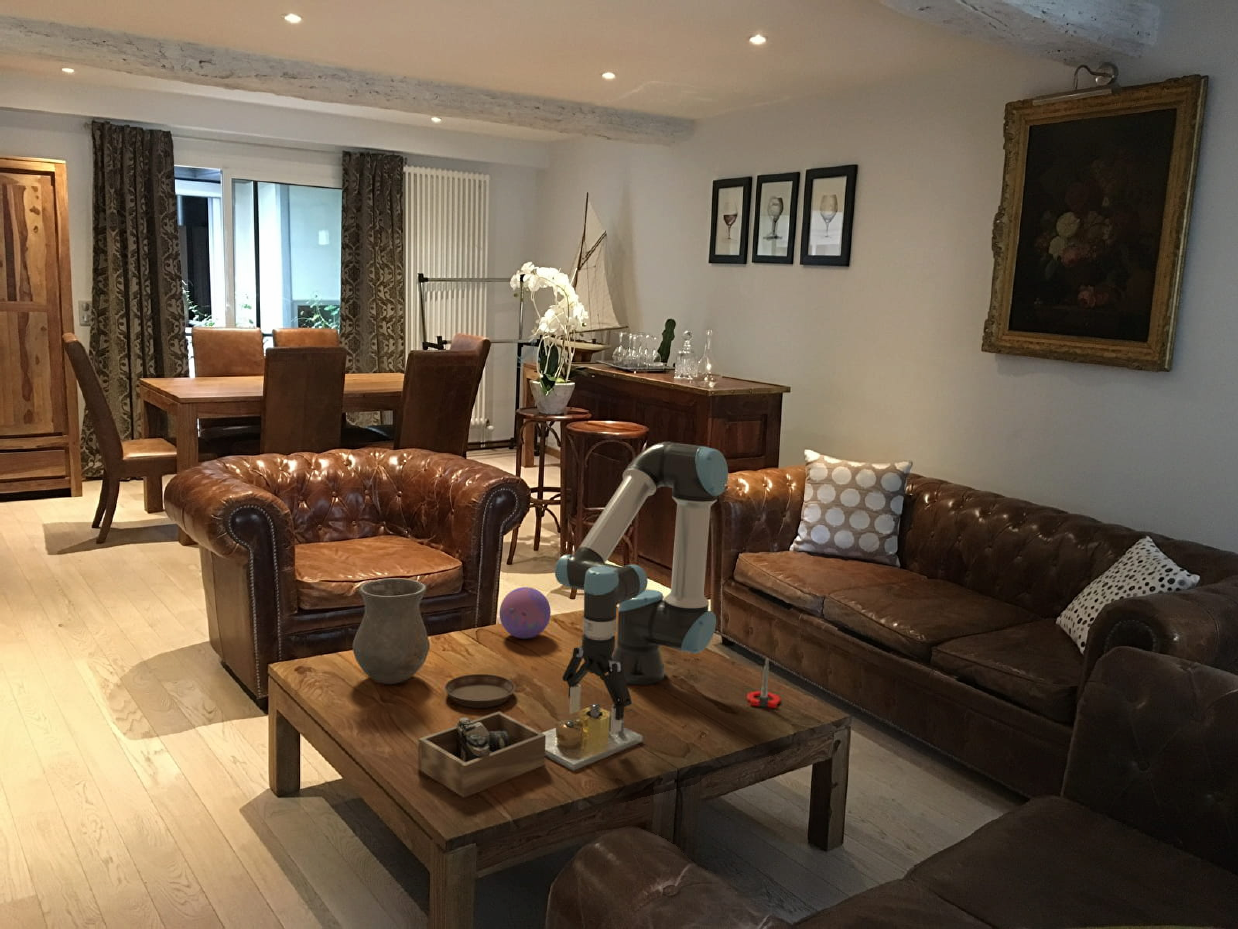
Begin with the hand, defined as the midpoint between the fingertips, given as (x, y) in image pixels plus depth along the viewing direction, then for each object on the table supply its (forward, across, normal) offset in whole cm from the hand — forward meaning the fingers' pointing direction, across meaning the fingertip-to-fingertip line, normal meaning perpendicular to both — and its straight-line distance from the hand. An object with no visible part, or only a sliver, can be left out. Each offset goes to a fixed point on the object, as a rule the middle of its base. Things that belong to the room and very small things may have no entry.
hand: (594, 722), depth 236 cm
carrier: (+4, 0, -3) cm, 5 cm away
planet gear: (+3, 0, 0) cm, 3 cm away
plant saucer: (+5, -36, -5) cm, 37 cm away
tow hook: (+5, +12, +50) cm, 52 cm away
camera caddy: (+4, -6, -28) cm, 29 cm away
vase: (+5, -59, -16) cm, 61 cm away
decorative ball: (+5, -62, +32) cm, 70 cm away
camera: (+4, -5, -28) cm, 29 cm away
